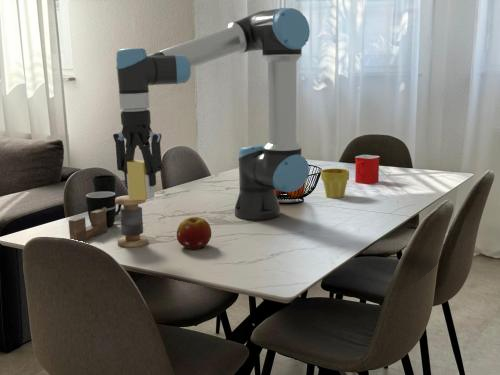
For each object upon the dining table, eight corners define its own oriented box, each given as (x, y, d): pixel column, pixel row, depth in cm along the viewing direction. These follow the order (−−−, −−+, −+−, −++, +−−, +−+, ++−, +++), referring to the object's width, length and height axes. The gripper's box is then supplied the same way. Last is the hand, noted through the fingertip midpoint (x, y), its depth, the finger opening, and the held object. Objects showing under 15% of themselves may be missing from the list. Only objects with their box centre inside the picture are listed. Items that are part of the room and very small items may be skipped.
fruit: (182, 253, 161) (181, 224, 159) (172, 244, 169) (171, 217, 167) (216, 248, 164) (215, 220, 163) (205, 240, 172) (204, 213, 171)
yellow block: (152, 197, 162) (150, 160, 159) (145, 200, 158) (143, 162, 156) (137, 196, 163) (134, 159, 161) (129, 199, 160) (126, 162, 158)
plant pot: (317, 198, 223) (317, 172, 221) (324, 192, 232) (325, 167, 230) (345, 200, 219) (345, 173, 217) (351, 194, 228) (352, 169, 226)
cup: (111, 214, 204) (109, 179, 201) (91, 213, 205) (88, 178, 203) (121, 208, 211) (119, 175, 209) (100, 208, 213) (98, 174, 210)
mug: (100, 231, 183) (98, 198, 181) (82, 226, 189) (79, 195, 187) (130, 223, 192) (129, 191, 190) (112, 218, 198) (110, 188, 196)
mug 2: (362, 179, 257) (363, 154, 255) (380, 181, 252) (381, 156, 250) (348, 183, 248) (348, 158, 246) (366, 186, 243) (367, 160, 241)
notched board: (107, 232, 182) (105, 209, 181) (77, 245, 170) (75, 220, 168) (100, 231, 183) (99, 208, 182) (70, 244, 170) (68, 220, 169)
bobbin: (153, 240, 173) (151, 196, 170) (137, 248, 165) (134, 202, 163) (128, 237, 176) (126, 194, 173) (111, 245, 168) (108, 200, 166)
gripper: (172, 108, 156) (178, 196, 161) (114, 108, 163) (121, 192, 168) (157, 111, 149) (163, 202, 154) (97, 110, 156) (105, 198, 161)
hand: (141, 197), depth 161 cm, fingers closed on yellow block, 5 cm apart
